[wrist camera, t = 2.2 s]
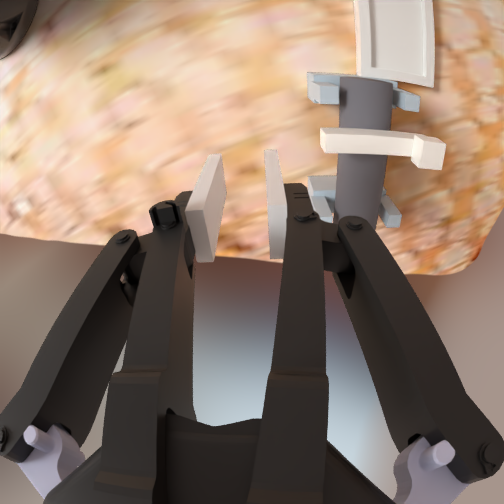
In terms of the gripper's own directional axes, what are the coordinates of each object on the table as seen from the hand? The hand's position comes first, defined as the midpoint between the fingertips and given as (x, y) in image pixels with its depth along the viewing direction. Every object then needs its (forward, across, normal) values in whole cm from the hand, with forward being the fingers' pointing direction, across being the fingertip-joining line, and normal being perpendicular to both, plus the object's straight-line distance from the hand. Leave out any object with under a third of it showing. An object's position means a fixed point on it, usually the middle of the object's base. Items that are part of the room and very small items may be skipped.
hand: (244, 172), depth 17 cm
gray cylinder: (+13, +11, -3) cm, 17 cm away
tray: (+17, +17, +16) cm, 28 cm away
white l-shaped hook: (+7, +11, 0) cm, 13 cm away
